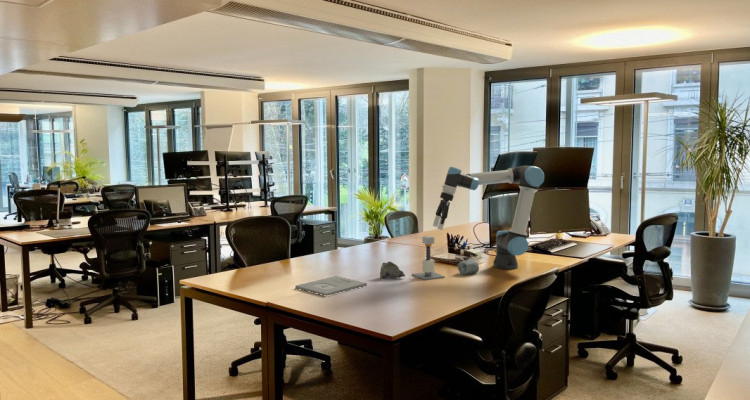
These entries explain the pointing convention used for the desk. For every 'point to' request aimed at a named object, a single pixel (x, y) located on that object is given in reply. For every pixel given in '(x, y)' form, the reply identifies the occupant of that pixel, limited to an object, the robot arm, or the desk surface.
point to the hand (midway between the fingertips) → (437, 227)
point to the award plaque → (331, 285)
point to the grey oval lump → (468, 267)
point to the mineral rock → (390, 271)
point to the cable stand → (431, 275)
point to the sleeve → (427, 265)
